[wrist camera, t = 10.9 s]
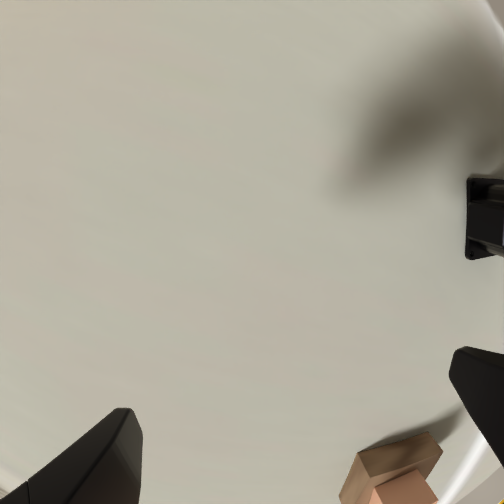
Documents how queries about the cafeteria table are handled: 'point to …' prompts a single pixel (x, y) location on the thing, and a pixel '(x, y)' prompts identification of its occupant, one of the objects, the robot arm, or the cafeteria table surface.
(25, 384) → the cafeteria table surface
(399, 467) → the walnut block
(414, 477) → the terracotta block
